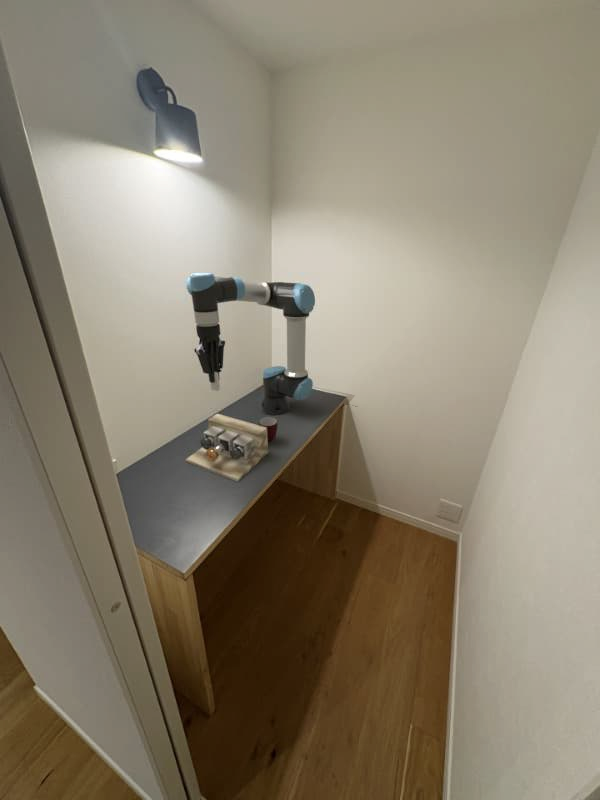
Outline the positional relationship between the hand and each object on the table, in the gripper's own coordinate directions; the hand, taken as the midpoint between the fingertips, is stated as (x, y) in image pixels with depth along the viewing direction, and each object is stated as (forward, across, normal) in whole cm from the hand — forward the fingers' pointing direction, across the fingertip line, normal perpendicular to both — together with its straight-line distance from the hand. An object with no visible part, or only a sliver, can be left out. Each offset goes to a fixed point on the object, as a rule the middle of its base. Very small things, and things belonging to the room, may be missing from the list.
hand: (215, 389), depth 113 cm
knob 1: (+28, -3, -9) cm, 30 cm away
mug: (+33, -20, +7) cm, 39 cm away
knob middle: (+28, +2, -1) cm, 28 cm away
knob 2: (+28, -3, +6) cm, 29 cm away
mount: (+32, -3, -1) cm, 33 cm away
